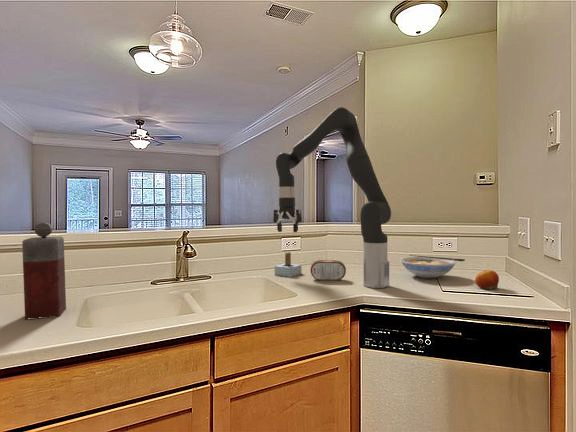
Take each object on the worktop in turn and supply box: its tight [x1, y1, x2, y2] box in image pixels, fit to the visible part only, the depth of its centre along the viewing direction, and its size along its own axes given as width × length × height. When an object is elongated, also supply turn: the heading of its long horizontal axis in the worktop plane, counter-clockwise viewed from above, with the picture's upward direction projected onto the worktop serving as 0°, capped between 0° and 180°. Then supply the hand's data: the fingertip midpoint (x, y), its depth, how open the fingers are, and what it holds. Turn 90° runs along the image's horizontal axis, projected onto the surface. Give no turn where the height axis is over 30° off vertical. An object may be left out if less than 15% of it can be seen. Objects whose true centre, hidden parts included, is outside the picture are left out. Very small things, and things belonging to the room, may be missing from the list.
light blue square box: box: [273, 263, 303, 278], centre depth 171 cm, size 9×9×4 cm
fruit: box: [474, 269, 500, 290], centre depth 139 cm, size 8×8×8 cm
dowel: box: [284, 251, 292, 267], centre depth 171 cm, size 3×3×10 cm
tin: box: [310, 259, 347, 282], centre depth 157 cm, size 15×3×8 cm, turn 84°
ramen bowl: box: [400, 254, 466, 279], centre depth 161 cm, size 25×23×8 cm
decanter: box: [21, 222, 67, 320], centre depth 113 cm, size 9×11×28 cm
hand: (287, 232), depth 170 cm, fingers open, 8 cm apart
